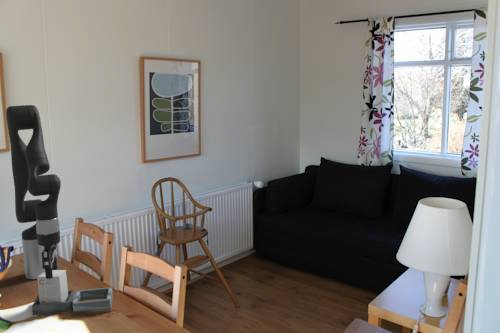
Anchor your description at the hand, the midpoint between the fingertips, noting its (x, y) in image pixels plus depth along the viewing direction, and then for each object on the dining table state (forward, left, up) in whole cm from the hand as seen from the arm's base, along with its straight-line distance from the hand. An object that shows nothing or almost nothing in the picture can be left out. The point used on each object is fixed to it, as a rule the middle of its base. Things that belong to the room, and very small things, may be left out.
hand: (51, 273), depth 161 cm
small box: (0, 0, -13) cm, 13 cm away
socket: (0, 0, -13) cm, 13 cm away
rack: (+3, +14, -13) cm, 19 cm away
